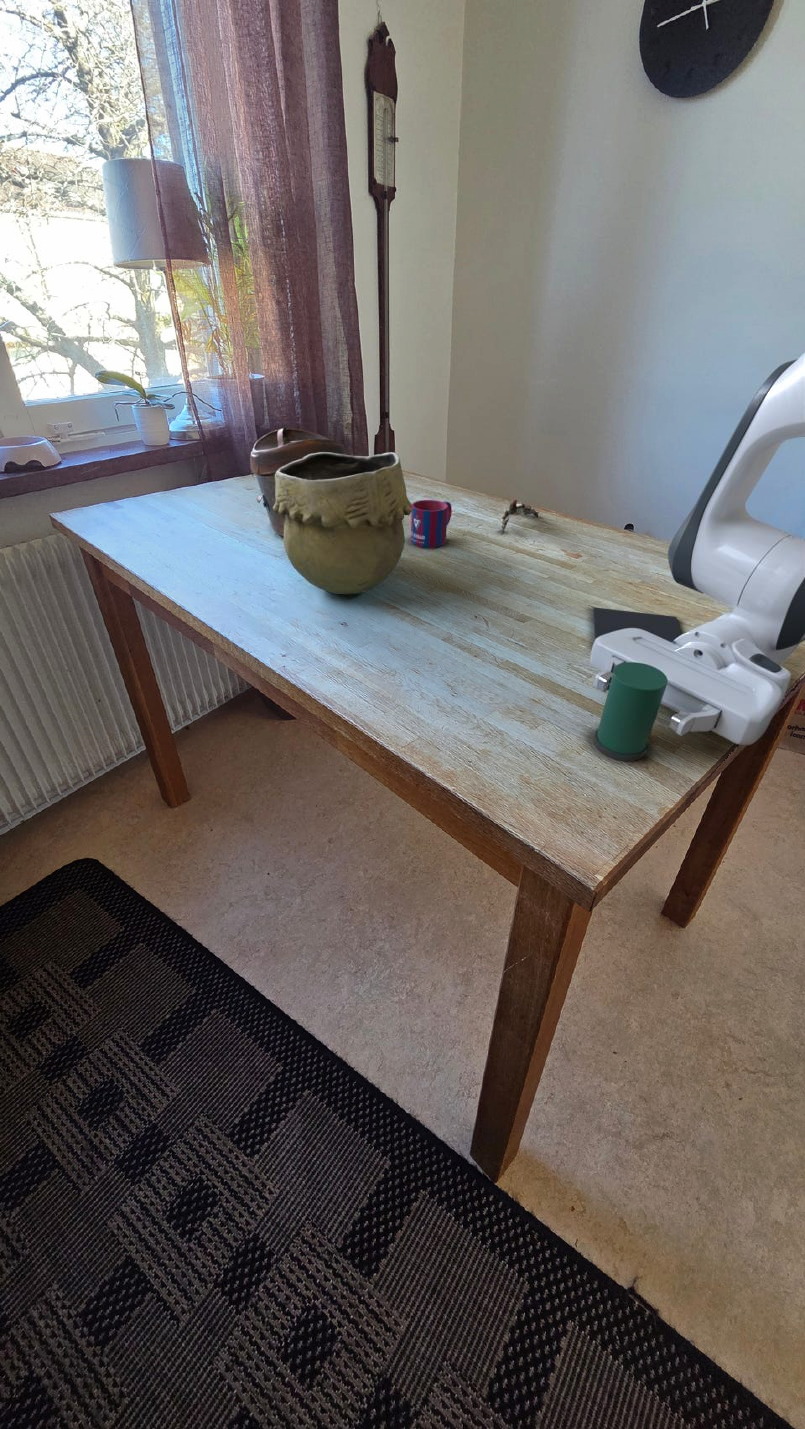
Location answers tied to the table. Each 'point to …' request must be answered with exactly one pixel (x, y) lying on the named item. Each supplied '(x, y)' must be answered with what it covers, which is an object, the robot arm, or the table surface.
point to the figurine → (516, 512)
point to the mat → (635, 623)
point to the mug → (429, 523)
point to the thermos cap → (630, 711)
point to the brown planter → (284, 462)
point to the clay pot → (343, 518)
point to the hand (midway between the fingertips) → (635, 704)
